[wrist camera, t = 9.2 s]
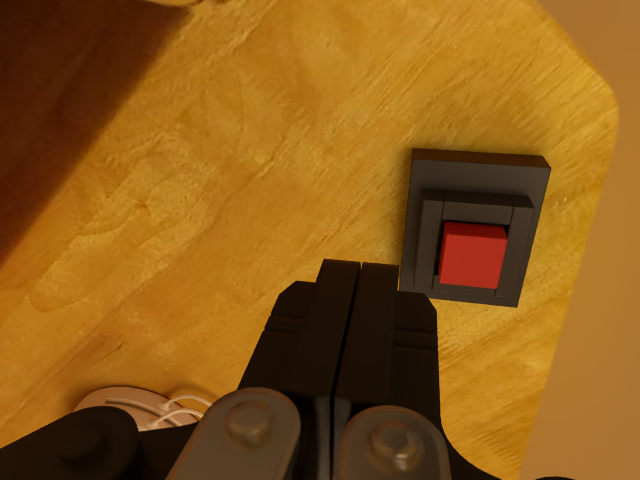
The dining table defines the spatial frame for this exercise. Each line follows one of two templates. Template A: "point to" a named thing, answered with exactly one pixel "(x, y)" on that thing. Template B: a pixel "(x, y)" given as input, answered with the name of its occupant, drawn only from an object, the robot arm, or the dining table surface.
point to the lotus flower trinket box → (145, 406)
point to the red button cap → (472, 254)
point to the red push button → (471, 217)
